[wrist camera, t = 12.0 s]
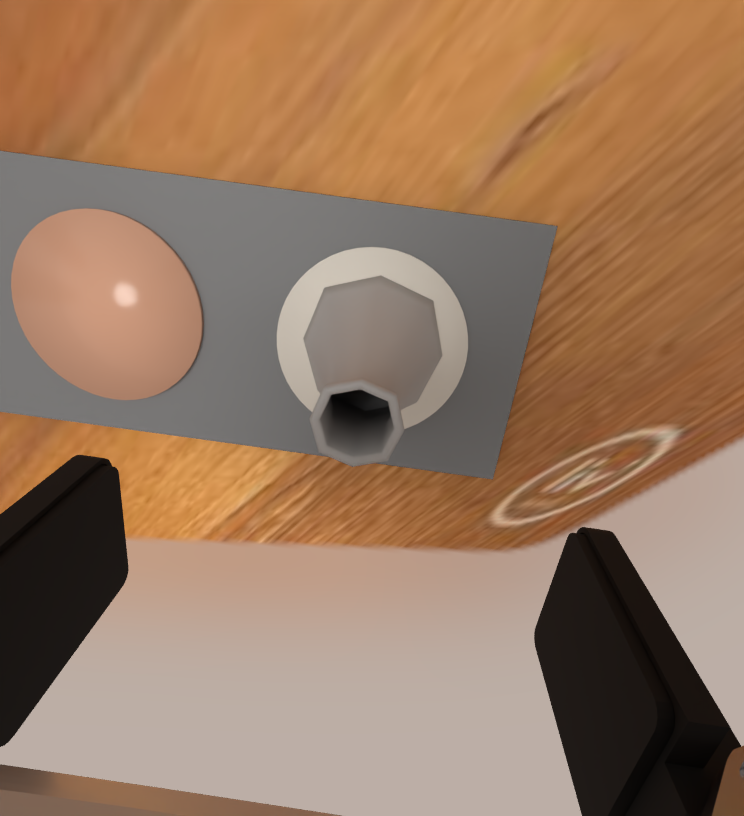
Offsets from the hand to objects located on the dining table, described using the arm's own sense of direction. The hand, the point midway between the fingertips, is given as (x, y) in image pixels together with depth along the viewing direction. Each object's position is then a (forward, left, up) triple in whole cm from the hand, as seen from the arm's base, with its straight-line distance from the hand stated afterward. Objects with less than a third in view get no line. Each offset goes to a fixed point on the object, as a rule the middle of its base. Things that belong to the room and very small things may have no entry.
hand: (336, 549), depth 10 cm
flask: (0, 0, -17) cm, 17 cm away
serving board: (+7, 0, -18) cm, 19 cm away
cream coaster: (0, 0, -17) cm, 17 cm away
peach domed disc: (+14, 0, -17) cm, 22 cm away
